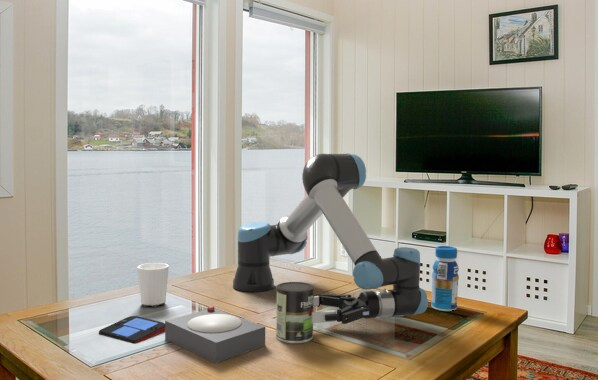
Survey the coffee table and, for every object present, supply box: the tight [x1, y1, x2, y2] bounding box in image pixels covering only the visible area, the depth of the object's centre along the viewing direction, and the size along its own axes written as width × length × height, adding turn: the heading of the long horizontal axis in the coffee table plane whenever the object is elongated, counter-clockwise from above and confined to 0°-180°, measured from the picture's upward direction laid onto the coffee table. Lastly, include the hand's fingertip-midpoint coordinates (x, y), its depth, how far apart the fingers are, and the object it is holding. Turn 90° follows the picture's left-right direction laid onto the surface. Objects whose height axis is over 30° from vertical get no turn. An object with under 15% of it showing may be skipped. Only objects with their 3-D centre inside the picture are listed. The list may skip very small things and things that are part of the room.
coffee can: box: [275, 281, 315, 345], centre depth 142 cm, size 10×10×14 cm
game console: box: [98, 315, 165, 344], centre depth 145 cm, size 14×13×2 cm
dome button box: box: [164, 305, 266, 364], centre depth 138 cm, size 22×16×6 cm
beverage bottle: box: [430, 245, 460, 312], centre depth 170 cm, size 8×8×20 cm
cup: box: [136, 262, 170, 308], centre depth 169 cm, size 10×10×13 cm
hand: (304, 309), depth 143 cm, fingers open, 13 cm apart
